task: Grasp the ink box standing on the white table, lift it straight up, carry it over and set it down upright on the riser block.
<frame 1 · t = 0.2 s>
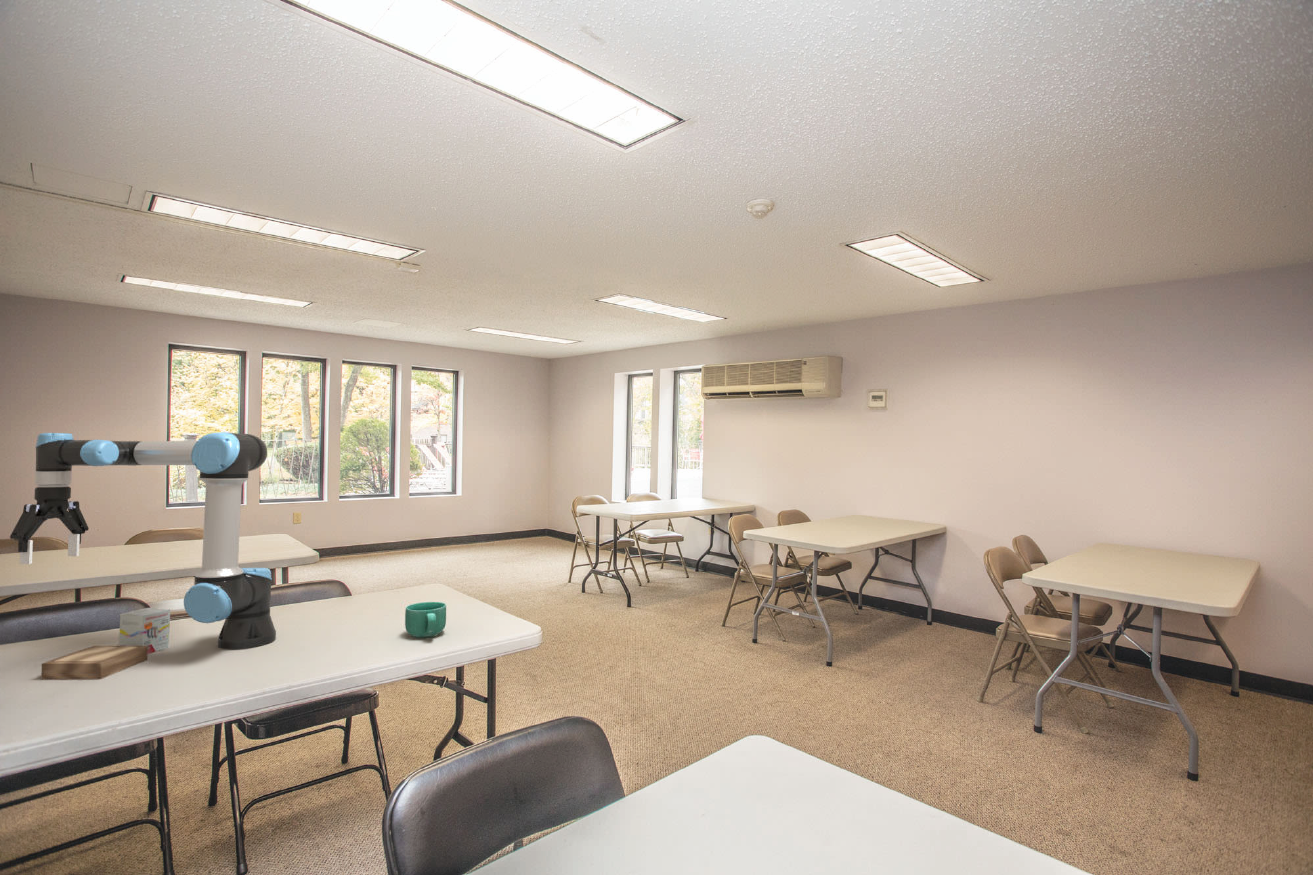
hand: (50, 559, 177), 28 cm above the table, fingers open, 13 cm apart
riser: (96, 669, 166), on the table
mug: (426, 637, 198), on the table
ink box: (144, 651, 182), on the table
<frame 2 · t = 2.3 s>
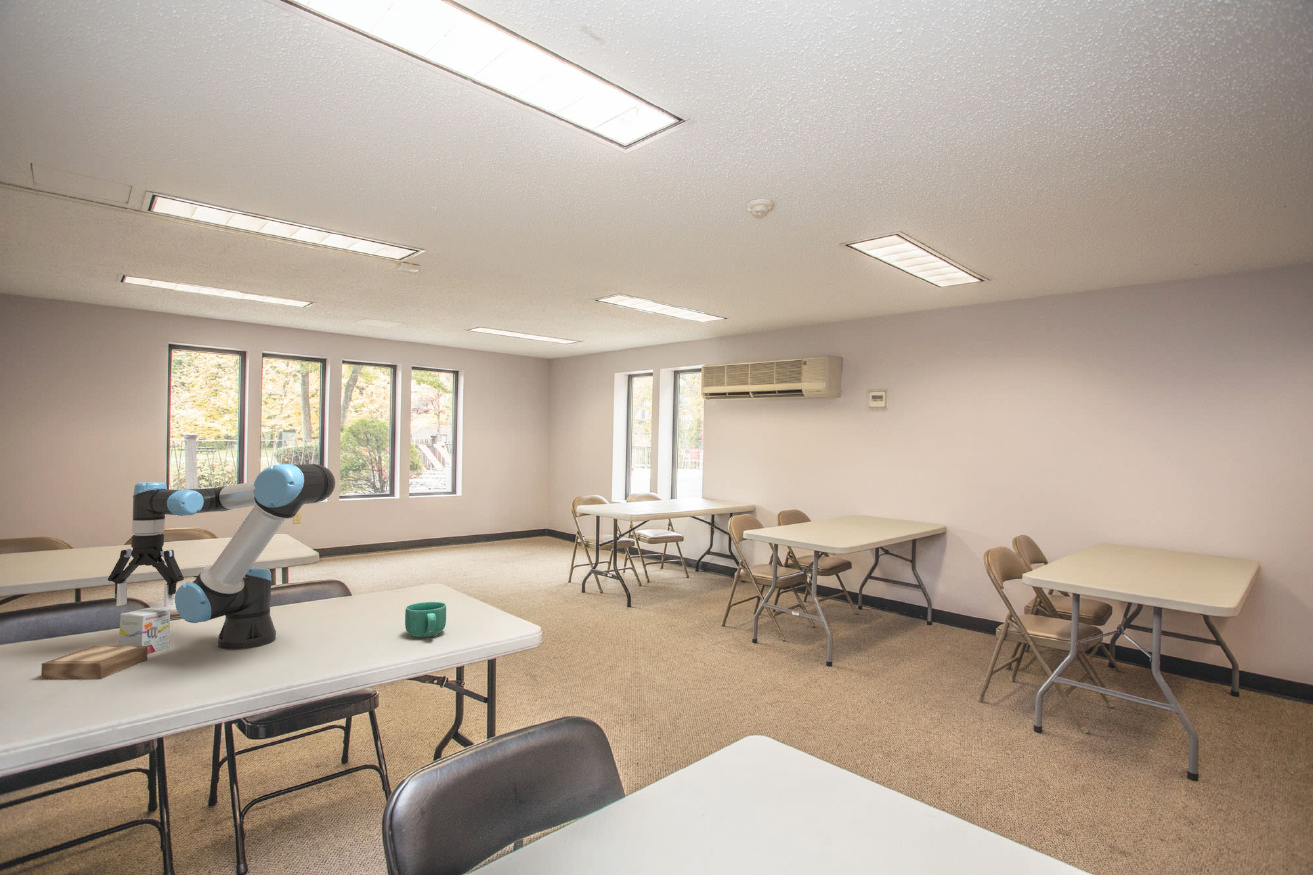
hand: (144, 605, 182), 13 cm above the table, fingers open, 13 cm apart
nothing on the table moved.
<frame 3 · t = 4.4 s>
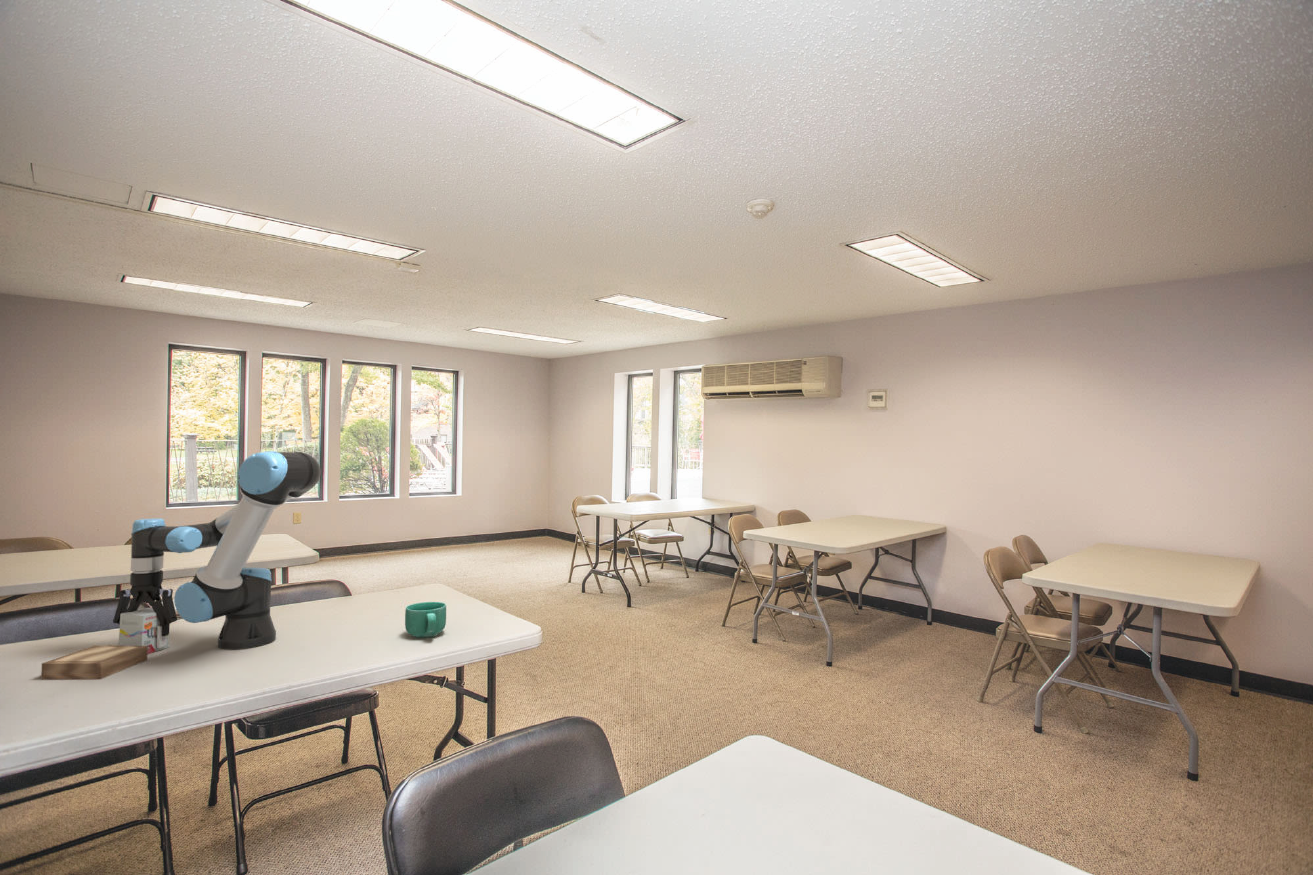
hand: (144, 646, 182), 1 cm above the table, fingers closed on ink box, 9 cm apart
ink box: (144, 651, 182), on the table, touching gripper
everything else where it was.
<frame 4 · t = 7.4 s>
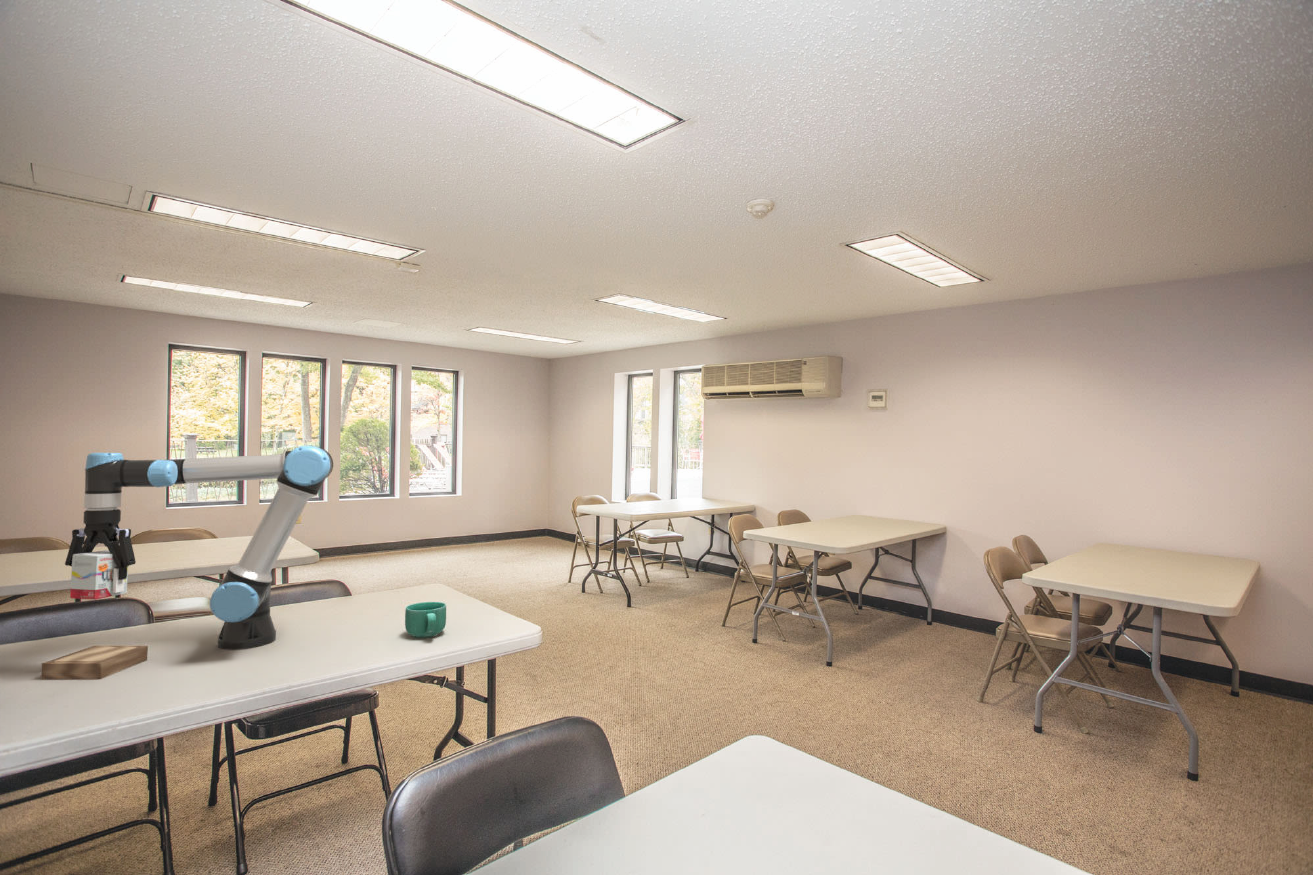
hand: (99, 591, 166), 21 cm above the table, fingers closed on ink box, 9 cm apart
ink box: (99, 596, 166), point 20 cm above the table, touching gripper
everything else where it was.
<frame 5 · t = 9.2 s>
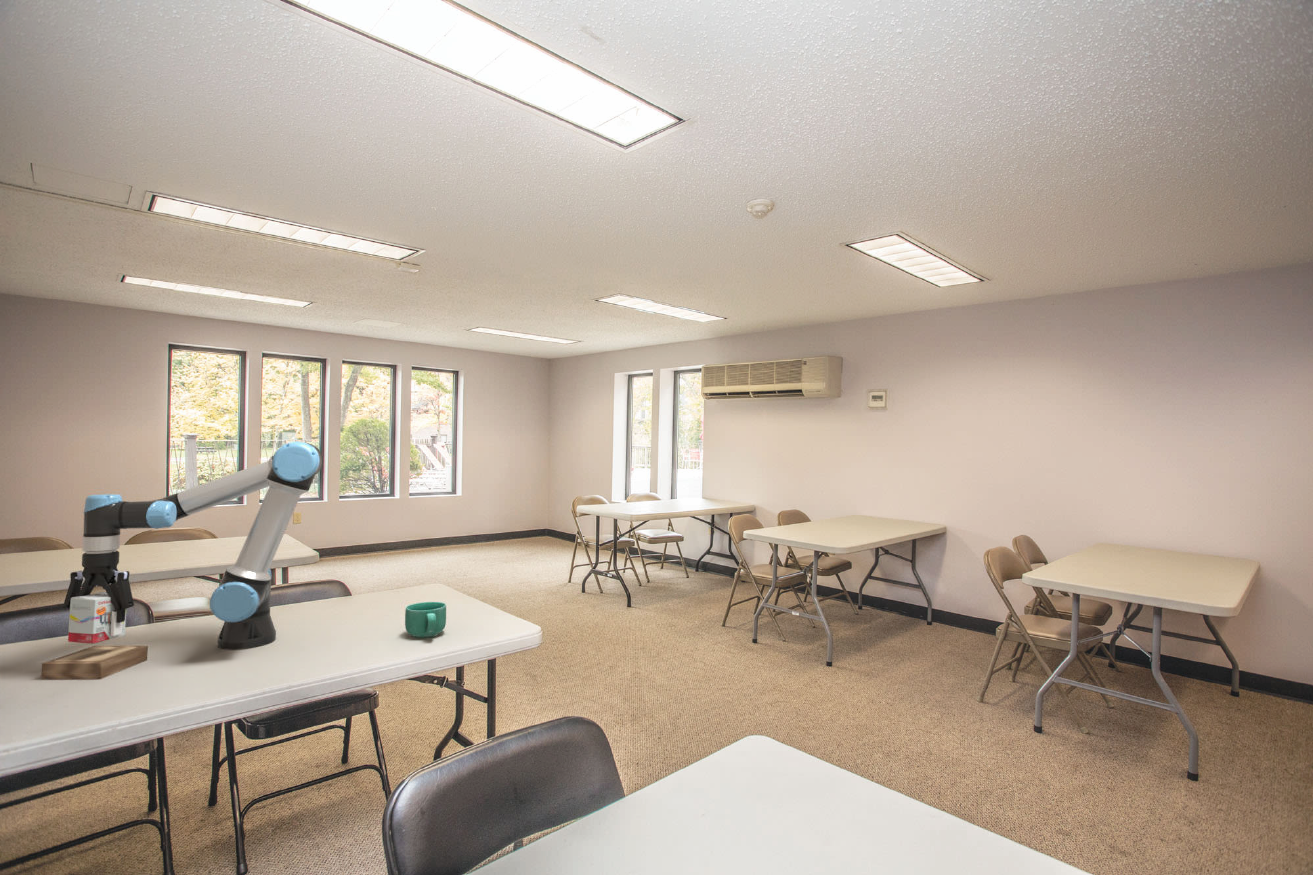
hand: (97, 634, 166), 9 cm above the table, fingers closed on ink box, 9 cm apart
ink box: (97, 639, 166), point 8 cm above the table, touching gripper
everything else where it was.
when the fingers open (7 cm above the table, at t = 10.8 s): ink box drops 1 cm, resting on riser.
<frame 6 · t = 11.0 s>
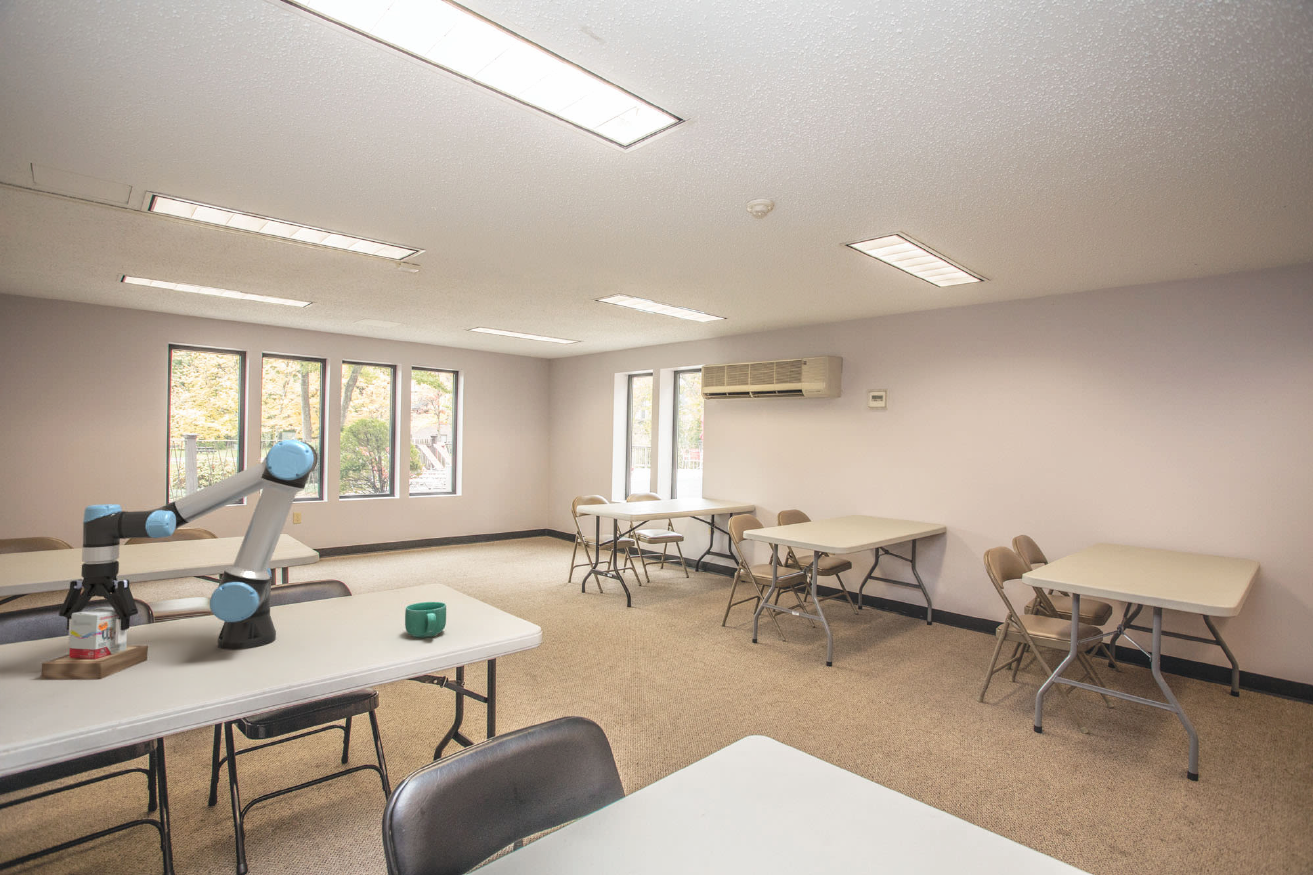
hand: (97, 642, 166), 7 cm above the table, fingers open, 11 cm apart
ink box: (98, 654, 166), point 4 cm above the table, touching riser
everything else where it was.
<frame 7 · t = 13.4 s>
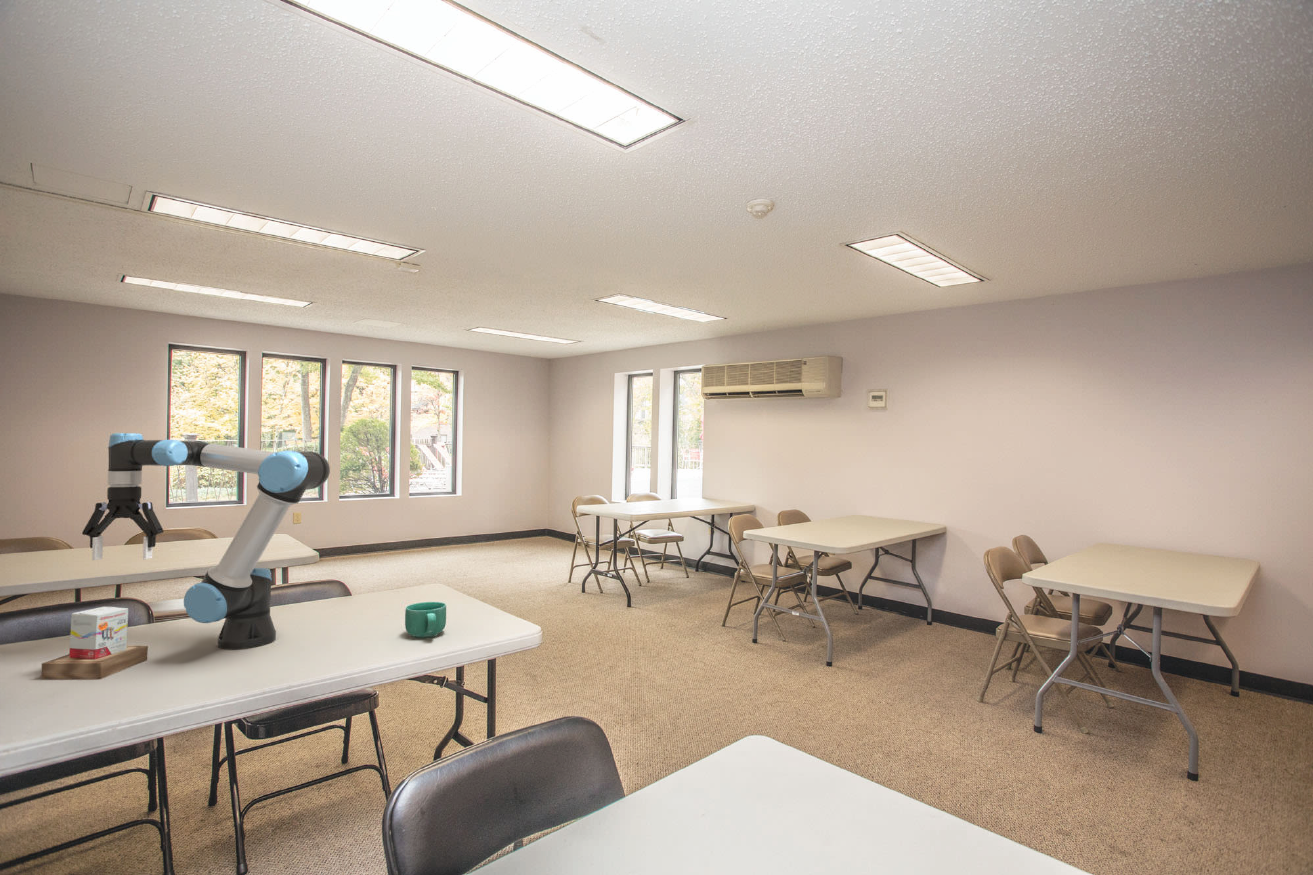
hand: (122, 559, 178), 28 cm above the table, fingers open, 13 cm apart
nothing on the table moved.
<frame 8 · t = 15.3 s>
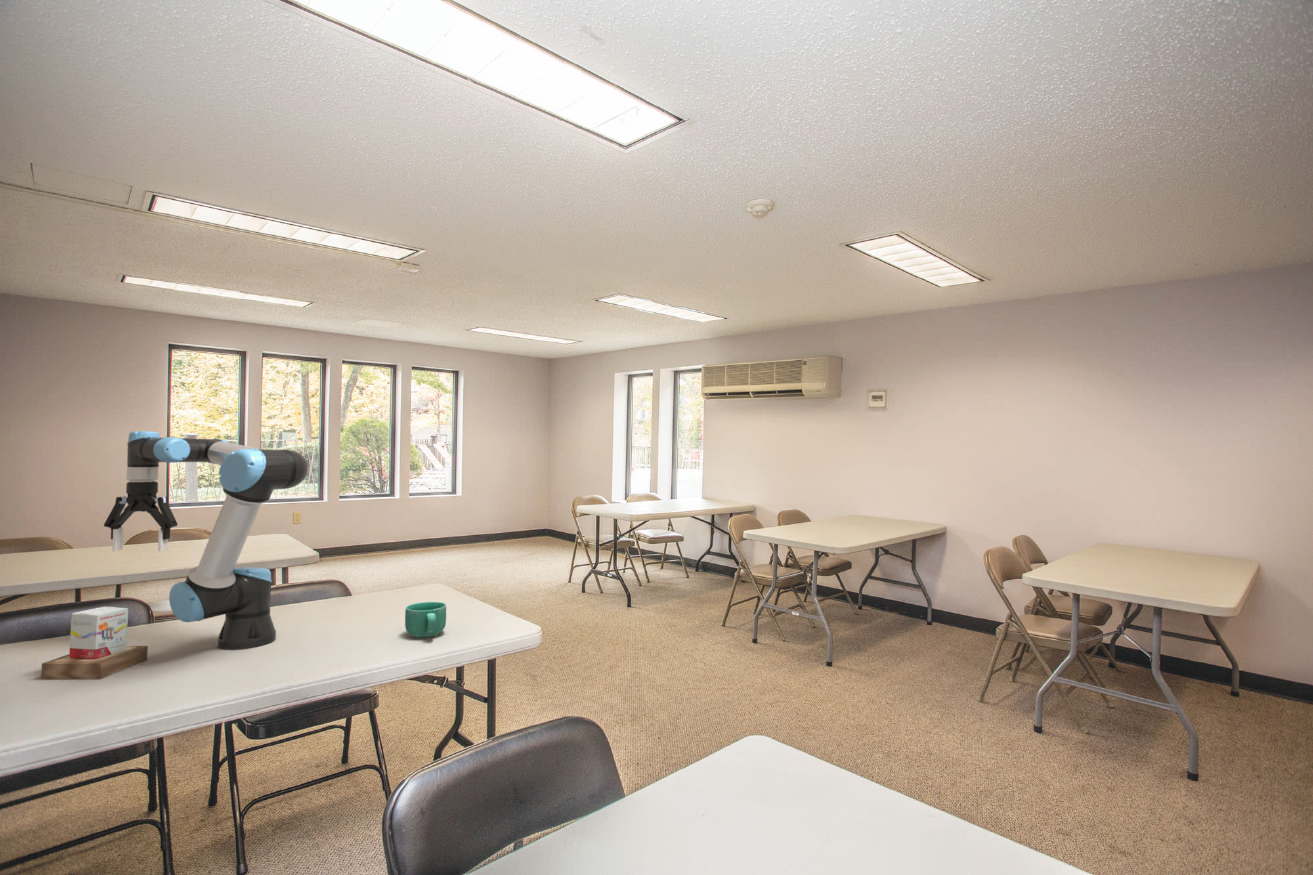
hand: (140, 550, 189), 29 cm above the table, fingers open, 13 cm apart
nothing on the table moved.
at the end: ink box inside the target area on the riser (0.4 cm from its centre), point 3.9 cm above the riser's base; ink box tilted 0°; the gripper is holding nothing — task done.
